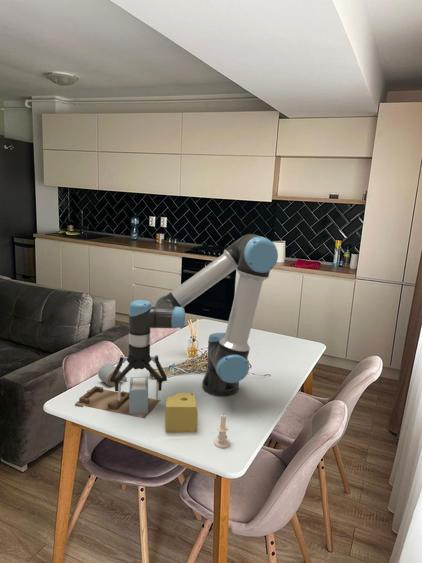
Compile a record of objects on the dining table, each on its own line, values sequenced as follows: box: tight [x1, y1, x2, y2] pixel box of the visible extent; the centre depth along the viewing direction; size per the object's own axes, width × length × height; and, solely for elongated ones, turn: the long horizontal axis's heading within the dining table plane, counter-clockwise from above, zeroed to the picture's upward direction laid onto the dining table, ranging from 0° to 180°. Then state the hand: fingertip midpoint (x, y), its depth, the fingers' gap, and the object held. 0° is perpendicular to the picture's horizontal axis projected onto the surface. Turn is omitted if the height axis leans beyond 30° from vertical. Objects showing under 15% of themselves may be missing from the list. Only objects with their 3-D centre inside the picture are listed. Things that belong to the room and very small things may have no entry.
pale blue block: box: [128, 376, 149, 415], centre depth 155 cm, size 11×6×9 cm, turn 8°
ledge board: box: [74, 385, 161, 419], centre depth 158 cm, size 28×14×3 cm, turn 73°
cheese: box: [164, 392, 199, 433], centre depth 144 cm, size 10×11×10 cm
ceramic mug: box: [97, 362, 128, 388], centre depth 174 cm, size 11×8×8 cm
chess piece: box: [213, 413, 231, 449], centre depth 135 cm, size 5×5×10 cm
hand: (138, 398), depth 155 cm, fingers open, 13 cm apart
